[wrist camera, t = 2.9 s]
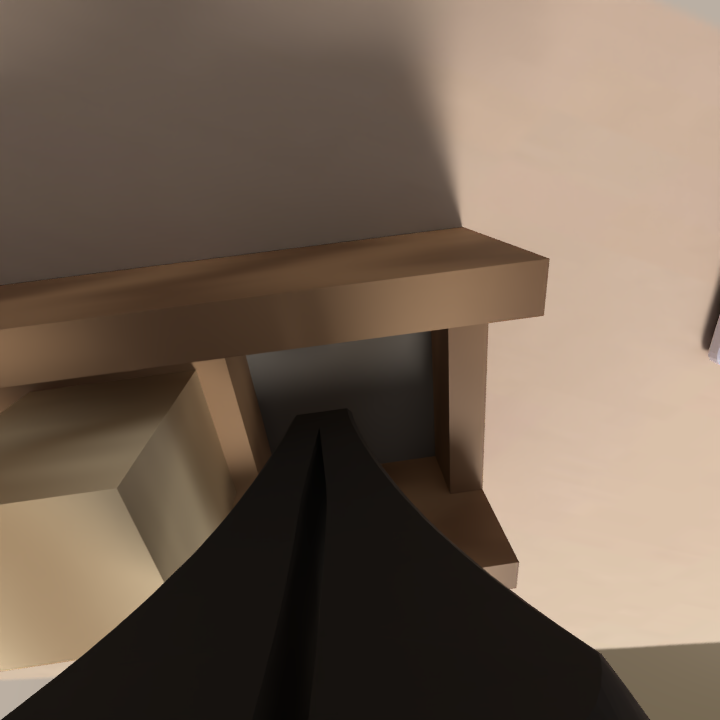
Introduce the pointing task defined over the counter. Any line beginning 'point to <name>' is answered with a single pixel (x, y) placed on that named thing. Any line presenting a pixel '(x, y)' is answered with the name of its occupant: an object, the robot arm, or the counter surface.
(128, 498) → the birch block
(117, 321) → the channel
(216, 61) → the counter surface
